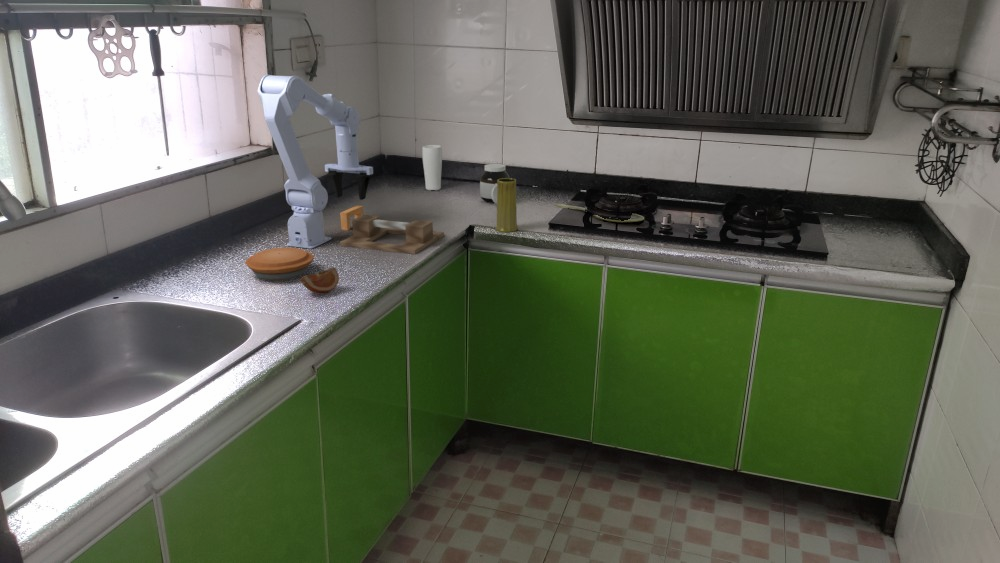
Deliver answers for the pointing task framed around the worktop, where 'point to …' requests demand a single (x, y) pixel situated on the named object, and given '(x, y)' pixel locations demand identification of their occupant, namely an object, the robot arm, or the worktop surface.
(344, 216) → the tan wooden angled block
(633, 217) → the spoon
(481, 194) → the spread jar
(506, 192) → the vase
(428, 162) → the drinking glass
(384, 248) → the hook stand
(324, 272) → the fruit slice
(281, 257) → the pie
